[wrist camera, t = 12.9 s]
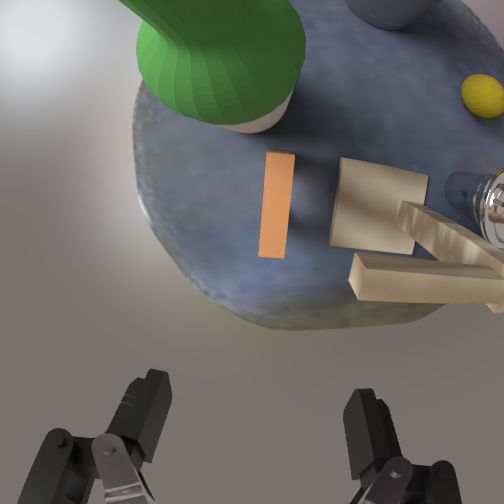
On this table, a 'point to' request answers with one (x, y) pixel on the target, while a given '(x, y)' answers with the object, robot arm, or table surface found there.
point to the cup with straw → (480, 201)
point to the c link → (276, 203)
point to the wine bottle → (221, 58)
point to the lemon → (483, 95)
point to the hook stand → (409, 242)
